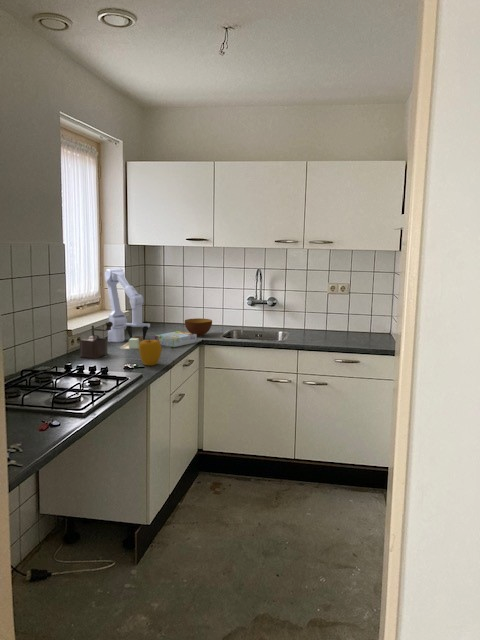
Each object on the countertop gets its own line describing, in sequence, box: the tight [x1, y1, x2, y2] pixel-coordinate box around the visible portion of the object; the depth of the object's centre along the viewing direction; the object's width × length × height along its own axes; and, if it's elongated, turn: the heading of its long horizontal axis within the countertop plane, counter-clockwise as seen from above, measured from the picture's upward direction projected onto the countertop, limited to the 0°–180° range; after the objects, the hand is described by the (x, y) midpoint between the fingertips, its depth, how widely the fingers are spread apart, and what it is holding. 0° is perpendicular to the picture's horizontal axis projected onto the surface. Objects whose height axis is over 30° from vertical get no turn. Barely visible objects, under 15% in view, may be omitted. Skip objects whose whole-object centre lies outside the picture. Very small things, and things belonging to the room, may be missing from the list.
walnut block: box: [132, 335, 143, 344], centre depth 311 cm, size 4×4×5 cm
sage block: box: [128, 337, 139, 350], centre depth 303 cm, size 4×4×5 cm
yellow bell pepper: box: [138, 338, 162, 367], centre depth 267 cm, size 11×11×13 cm
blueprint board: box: [119, 341, 139, 350], centre depth 313 cm, size 17×24×1 cm
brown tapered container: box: [79, 320, 113, 360], centre depth 286 cm, size 16×11×18 cm
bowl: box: [184, 318, 213, 338], centre depth 345 cm, size 18×18×10 cm
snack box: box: [154, 330, 198, 348], centre depth 319 cm, size 21×6×15 cm
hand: (137, 339), depth 311 cm, fingers open, 7 cm apart
